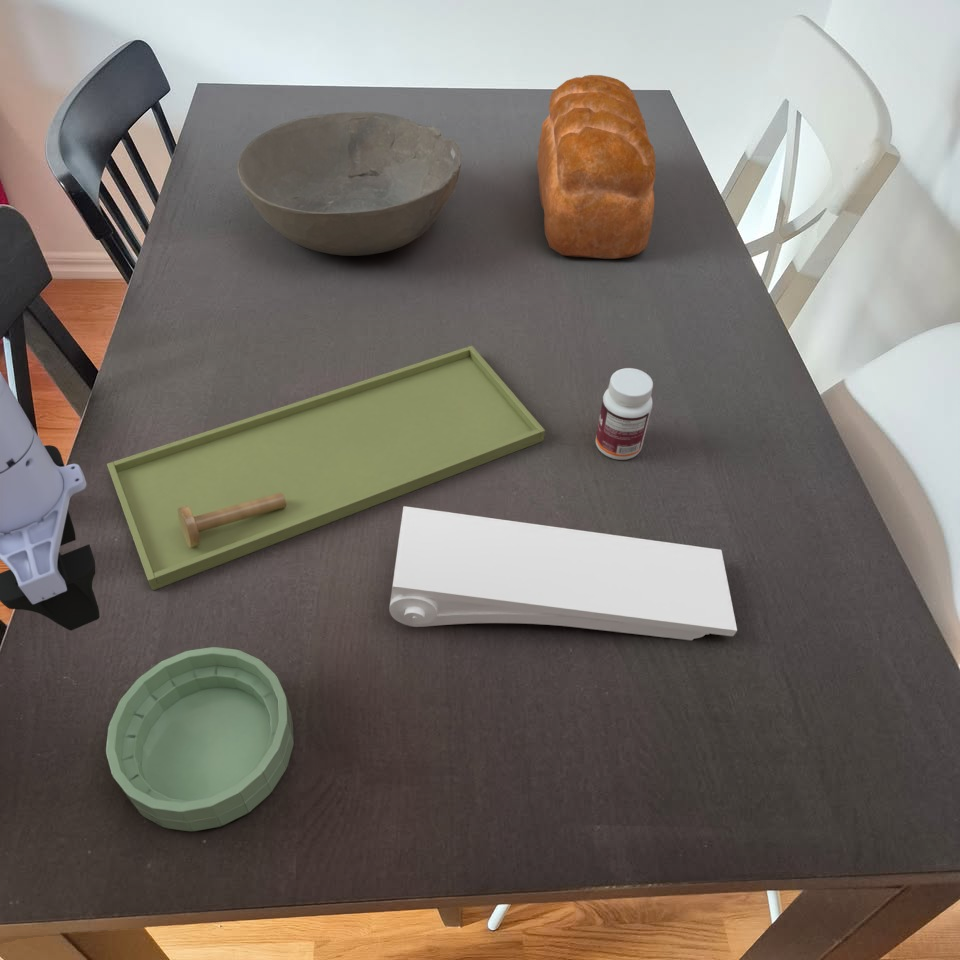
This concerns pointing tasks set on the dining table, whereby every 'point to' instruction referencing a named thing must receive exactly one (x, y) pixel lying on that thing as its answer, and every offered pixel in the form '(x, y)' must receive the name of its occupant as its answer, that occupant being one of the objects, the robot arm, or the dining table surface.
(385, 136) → the bowl
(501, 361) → the dining table surface
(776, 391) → the dining table surface
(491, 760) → the dining table surface
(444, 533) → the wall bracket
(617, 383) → the pill bottle
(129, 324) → the dining table surface
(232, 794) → the shallow round dish
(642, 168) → the bread
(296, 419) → the serving tray
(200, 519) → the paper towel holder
